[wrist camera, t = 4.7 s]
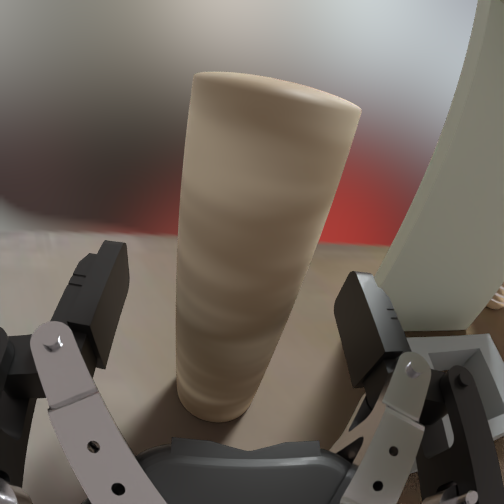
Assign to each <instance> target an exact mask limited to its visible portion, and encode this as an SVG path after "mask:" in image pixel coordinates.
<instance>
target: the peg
mask: <svg viewBox="0 0 504 504" xmlns="http://www.w3.org/2000/svg"><path fill="white" fill-rule="evenodd" d="M361 111H362V110H361V109H360V108H359V107H358V106H356V105H355V104H353V103H351V102H349V101H347V100H345V99H342V98H340V97H337V96H335V95H332V94H330V93H327V92H324V91H320V90H318V89H315V88H311V87H308V86H304V85H301V84H296V83H293V82H288V81H284V80H280V79H275V78H270V77H264V76H258V75H251V74H243V73H232V72H200V73H196V74H194V78H193V84H192V92H191V99H190V106H189V114H188V123H187V132H186V141H185V151H184V161H183V172H182V184H181V198H180V211H179V229H178V248H177V275H176V376H177V393H178V396H179V399H180V401H181V403H182V404H183V406H184V407H185V408H186V409H187V410H188V411H189V412H190V413H191V414H193V415H194V416H196V417H198V418H199V419H202V420H205V421H209V422H227V421H231V420H233V419H236V418H237V417H239V416H241V415H242V414H243V413H244V412H245V411H246V410H247V409H248V408H249V406H250V404H251V402H252V400H253V398H254V396H255V394H256V392H257V389H258V387H259V385H260V383H261V380H262V378H263V376H264V374H265V371H266V369H267V367H268V365H269V362H270V360H271V358H272V355H273V353H274V351H275V348H276V346H277V344H278V341H279V339H280V337H281V334H282V332H283V330H284V327H285V325H286V322H287V320H288V318H289V315H290V313H291V310H292V308H293V305H294V303H295V300H296V298H297V295H298V293H299V290H300V288H301V285H302V283H303V280H304V277H305V275H306V272H307V270H308V267H309V265H310V262H311V259H312V257H313V254H314V251H315V249H316V246H317V243H318V241H319V238H320V235H321V232H322V230H323V226H324V224H325V221H326V218H327V216H328V213H329V210H330V207H331V204H332V202H333V199H334V196H335V193H336V190H337V187H338V184H339V181H340V178H341V175H342V172H343V169H344V166H345V163H346V160H347V157H348V154H349V151H350V148H351V144H352V141H353V138H354V135H355V132H356V128H357V125H358V122H359V118H360V115H361Z"/></svg>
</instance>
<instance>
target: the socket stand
mask: <svg viewBox="0 0 504 504" xmlns="http://www.w3.org/2000/svg"><path fill="white" fill-rule="evenodd" d="M374 280H375V282H376V284H377V286H378V288H381V289H382V290H383V291H384V292H385V293H386V294H387V295H388V297H389V298H390V300H391V302H392V305H393V307H394V311H395V312H396V314H397V316H398V320H399V321H400V324H401V326H402V328H403V331H444V330H466V329H467V328H468V327H469V326H470V325H471V324H472V322H473V321H474V320H475V319H476V318H477V316H478V315H479V314H480V313H481V311H482V310H483V309H484V308H485V306H486V305H487V304H488V303H489V301H490V300H491V299H492V297H493V296H494V295H495V293H496V292H497V291H498V289H499V288H500V286H501V285H502V284H503V282H504V0H478V3H477V8H476V14H475V19H474V23H473V28H472V33H471V37H470V41H469V45H468V49H467V53H466V57H465V61H464V64H463V68H462V71H461V75H460V78H459V82H458V85H457V88H456V91H455V94H454V98H453V100H452V104H451V107H450V110H449V112H448V115H447V118H446V121H445V124H444V127H443V129H442V132H441V135H440V137H439V140H438V143H437V145H436V148H435V150H434V153H433V155H432V158H431V160H430V163H429V165H428V168H427V170H426V172H425V175H424V177H423V179H422V182H421V184H420V186H419V189H418V191H417V193H416V195H415V197H414V200H413V202H412V204H411V206H410V208H409V210H408V212H407V214H406V217H405V219H404V221H403V223H402V225H401V227H400V229H399V231H398V233H397V235H396V237H395V239H394V241H393V243H392V245H391V247H390V249H389V250H388V252H387V254H386V256H385V258H384V260H383V262H382V264H381V266H380V267H379V269H378V271H377V273H376V275H375V276H374ZM407 341H408V343H409V346H410V348H411V351H412V352H415V353H417V354H419V355H421V356H422V357H423V358H424V359H425V360H426V361H427V362H428V364H429V366H430V369H434V370H438V371H443V370H449V369H450V368H452V367H453V366H455V365H460V366H463V367H465V368H466V369H467V370H468V371H469V372H470V373H471V374H472V376H473V378H474V380H475V383H476V386H477V389H478V392H479V395H480V398H481V401H482V404H483V407H484V410H485V413H486V416H487V420H488V423H489V427H490V430H491V434H492V437H493V441H494V440H496V439H498V438H500V437H502V436H504V362H503V360H502V358H501V356H500V354H499V352H498V350H497V348H496V346H495V344H494V342H493V340H492V338H491V336H490V335H489V333H488V334H475V335H460V336H441V337H411V338H407ZM442 421H443V424H444V428H445V432H446V437H447V441H448V445H449V448H450V447H451V446H452V444H453V441H454V435H453V431H452V427H451V423H450V419H449V416H448V414H447V415H446V416H444V417H443V418H442ZM417 471H418V470H417V464H416V458H415V460H414V463H413V466H412V468H411V471H410V474H411V473H414V472H417Z"/></svg>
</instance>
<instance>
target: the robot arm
mask: <svg viewBox="0 0 504 504" xmlns="http://www.w3.org/2000/svg"><path fill="white" fill-rule="evenodd" d="M128 288H129V266H128V255H127V246H126V243H122V242H114V241H107V240H105V241H104V242H103V244H102V246H101V247H100V249H99V251H98V253H97V254H91V253H89V254H88V255H87V256H86V257H85V258H83V259H82V260H81V261H80V262H79V263H78V265H77V267H76V269H75V271H74V273H73V276H72V277H71V279H70V281H69V284H68V285H67V287H66V289H65V291H64V293H63V295H62V297H61V299H60V301H59V303H58V306H57V308H56V310H55V312H54V314H53V317H52V319H51V321H50V322H46V323H44V324H42V325H40V326H39V327H38V328H37V329H36V330H35V331H34V332H33V334H31V335H21V336H7V334H6V332H5V331H4V330H3V329H2V328H1V327H0V504H33V503H32V500H31V498H30V497H29V495H28V494H27V493H26V492H25V491H24V490H23V489H22V483H23V473H24V465H25V458H26V451H27V445H28V439H29V433H30V428H31V423H32V418H33V413H34V408H35V404H36V400H37V398H47V401H48V404H49V409H48V415H49V418H50V421H51V424H52V426H53V428H54V431H55V433H56V435H57V438H58V440H59V442H60V444H61V447H62V449H63V451H64V453H65V455H66V457H67V459H68V461H69V463H70V465H71V467H72V469H73V471H74V473H75V475H76V477H77V479H78V481H79V482H80V484H81V486H82V488H83V490H84V491H85V493H86V495H87V496H88V498H87V499H86V500H85V501H84V502H82V503H81V504H397V502H398V499H399V497H400V495H401V493H402V490H403V488H404V486H405V483H406V481H407V479H408V476H409V474H410V471H411V468H412V466H413V463H414V460H415V458H416V464H417V470H418V476H419V483H420V489H421V497H422V503H421V504H504V487H503V481H502V476H501V471H500V466H499V462H498V457H497V453H496V449H495V445H494V441H493V437H492V434H491V430H490V427H489V423H488V420H487V416H486V413H485V410H484V407H483V404H482V401H481V398H480V395H479V392H478V389H477V386H476V383H475V380H474V378H473V376H472V374H471V373H470V372H469V371H468V370H467V369H466V368H465V367H463V366H460V365H455V366H453V367H452V368H450V369H449V370H448V371H447V372H446V373H445V372H441V371H438V370H434V369H430V366H429V364H428V362H427V361H426V360H425V359H424V358H423V357H422V356H421V355H419V354H417V353H415V352H412V351H411V348H410V346H409V343H408V341H407V338H406V336H405V333H404V331H403V328H402V326H401V324H400V321H399V320H398V316H397V314H396V312H395V311H394V307H393V305H392V302H391V300H390V298H389V297H388V295H387V294H386V293H385V292H384V291H383V290H382V289H381V288H378V286H377V284H376V282H375V280H374V277H373V275H372V274H371V273H365V272H356V271H352V272H350V273H349V275H348V277H347V279H346V281H345V283H344V285H343V287H342V288H341V290H340V292H339V294H338V296H337V298H336V300H335V304H334V315H335V319H336V323H337V327H338V330H339V334H340V338H341V342H342V346H343V350H344V353H345V357H346V361H347V366H348V370H349V374H350V378H351V382H352V386H353V388H364V389H365V394H364V395H363V396H362V397H361V399H360V401H359V403H358V405H357V407H356V409H355V411H354V413H353V415H352V417H351V419H350V421H349V423H348V425H347V427H346V428H345V430H344V432H343V434H342V435H341V437H340V438H339V439H338V440H337V441H336V442H335V444H334V445H333V446H332V447H331V449H330V450H329V451H328V450H324V449H320V444H319V441H304V442H285V443H281V444H277V445H274V446H270V447H266V448H262V449H258V450H253V451H244V450H240V449H237V448H233V447H229V446H226V445H222V444H219V443H216V442H212V441H207V440H195V439H185V438H176V437H172V443H171V444H168V445H161V446H157V447H154V448H151V449H148V450H146V451H144V452H142V453H140V454H138V455H137V456H135V455H134V453H133V452H132V450H131V448H130V447H129V445H128V443H127V442H126V440H125V438H124V437H123V435H122V433H121V432H120V430H119V428H118V427H117V425H116V423H115V421H114V419H113V418H112V416H111V414H110V412H109V410H108V408H107V406H106V405H105V403H104V401H103V399H102V397H101V395H100V393H99V391H98V389H97V387H96V385H95V382H94V380H93V375H94V372H95V368H101V369H106V365H107V361H108V357H109V353H110V350H111V346H112V342H113V339H114V335H115V332H116V328H117V325H118V322H119V318H120V315H121V312H122V309H123V305H124V302H125V299H126V296H127V293H128ZM447 414H448V416H449V419H450V423H451V427H452V431H453V435H454V441H453V444H452V446H451V447H450V448H449V445H448V441H447V437H446V432H445V428H444V424H443V421H442V418H443V417H444V416H446V415H447Z"/></svg>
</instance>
